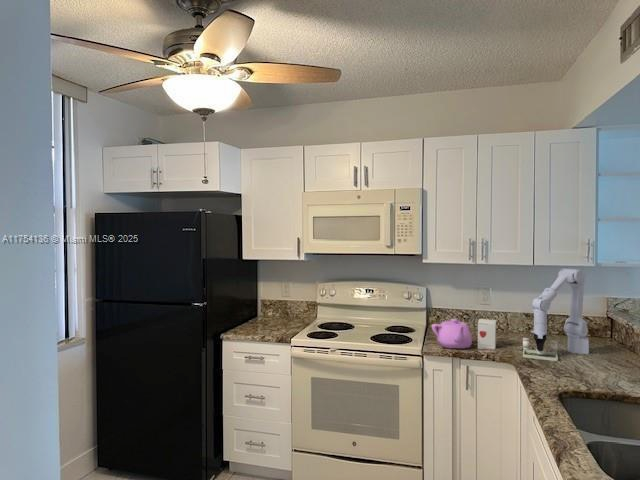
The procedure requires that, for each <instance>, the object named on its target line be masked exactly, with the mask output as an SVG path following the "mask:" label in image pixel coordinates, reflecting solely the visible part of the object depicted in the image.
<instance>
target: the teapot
mask: <svg viewBox="0 0 640 480" xmlns="http://www.w3.org/2000/svg"><path fill="white" fill-rule="evenodd" d="M437 328H438V331H437ZM431 330H432V332H433V333H434V335H436V339H437V342H438V344H439V345H440V346H441V347H444V348H447V349H449V350H452V349H462V350H465V349H467V348H470V347H471V346H472V343H473V338H472V333H471V330H470V328H469V326H468V324H467V323H465V322H463V321H458V319H457V318H451V319H450V320H445V321H441V322H440V324H439V323H433V324H431Z"/></svg>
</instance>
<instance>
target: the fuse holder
mask: <svg viewBox="0 0 640 480" xmlns="http://www.w3.org/2000/svg"><path fill="white" fill-rule="evenodd" d="M529 350H536V351H537V346H535V347H534V348H532V346H529ZM519 351H522V352H523V345H520V347H519ZM543 351H545V352H551V348H548V350H546V348H544V347H543ZM557 356H562V353H561V350H560V349H557Z"/></svg>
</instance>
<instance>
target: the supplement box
mask: <svg viewBox="0 0 640 480" xmlns="http://www.w3.org/2000/svg"><path fill="white" fill-rule="evenodd" d="M496 347H497V319H487V318H479V319H478V322H477V349H478V350H484V349H490V350H491V349H493V350H496V349H497V348H496Z"/></svg>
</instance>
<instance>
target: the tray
mask: <svg viewBox="0 0 640 480" xmlns="http://www.w3.org/2000/svg"><path fill="white" fill-rule="evenodd" d="M525 353H532V354H525ZM533 354H536V350H527V349H523V351H522V358H528V359H538V360H544V361H553V362H554V361H555V362H559V357H558V356H559V355H557V353H554V352H545V351H543V355H546V356H543V355H542V356H541V355H533ZM547 355H549V356H555V357H548V356H547Z"/></svg>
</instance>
